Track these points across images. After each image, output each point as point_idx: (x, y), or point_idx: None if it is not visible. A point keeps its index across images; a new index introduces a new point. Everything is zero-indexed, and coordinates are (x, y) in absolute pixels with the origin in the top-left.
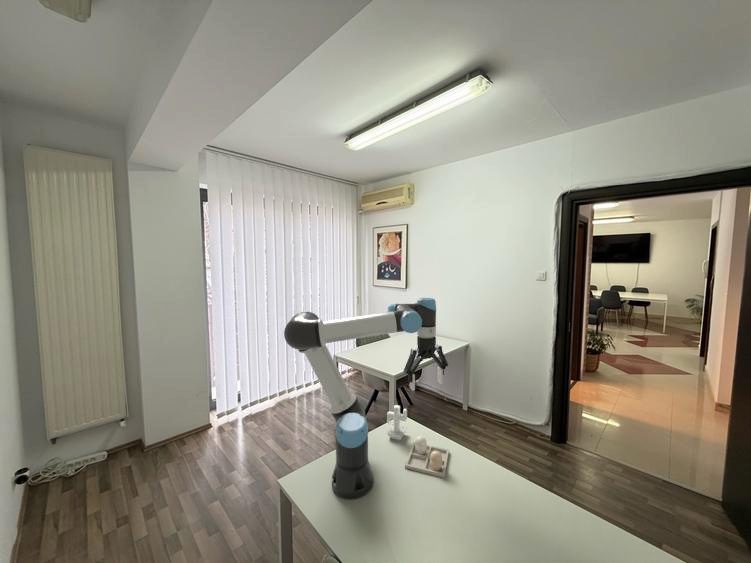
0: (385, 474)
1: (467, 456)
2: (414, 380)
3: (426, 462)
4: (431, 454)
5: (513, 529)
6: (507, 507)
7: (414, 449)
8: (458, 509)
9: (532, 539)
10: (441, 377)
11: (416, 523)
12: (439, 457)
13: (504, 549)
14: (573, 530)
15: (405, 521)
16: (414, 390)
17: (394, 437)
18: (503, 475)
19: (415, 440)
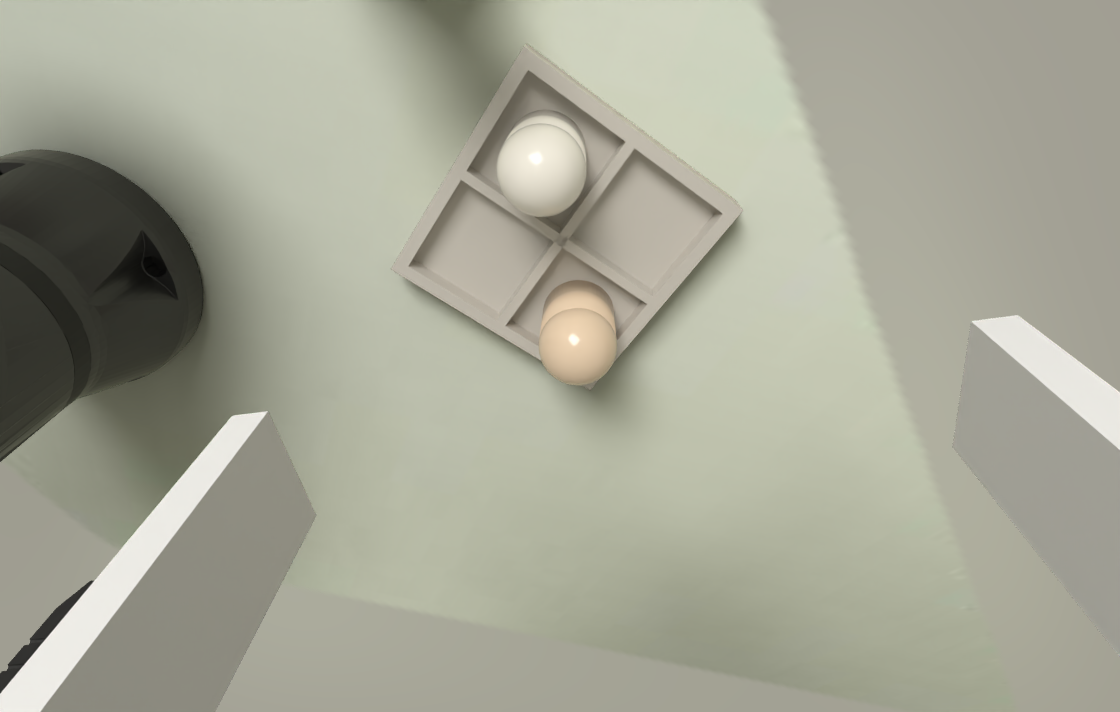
0: (277, 259)
1: (837, 253)
2: (213, 698)
3: (531, 283)
4: (544, 352)
5: (707, 607)
6: (761, 549)
7: (512, 106)
8: (565, 512)
9: (737, 639)
10: (1060, 566)
11: (378, 518)
12: (584, 384)
13: (627, 639)
14: (893, 650)
15: (337, 503)
16: (309, 516)
17: None
18: (902, 425)
19: (498, 158)
